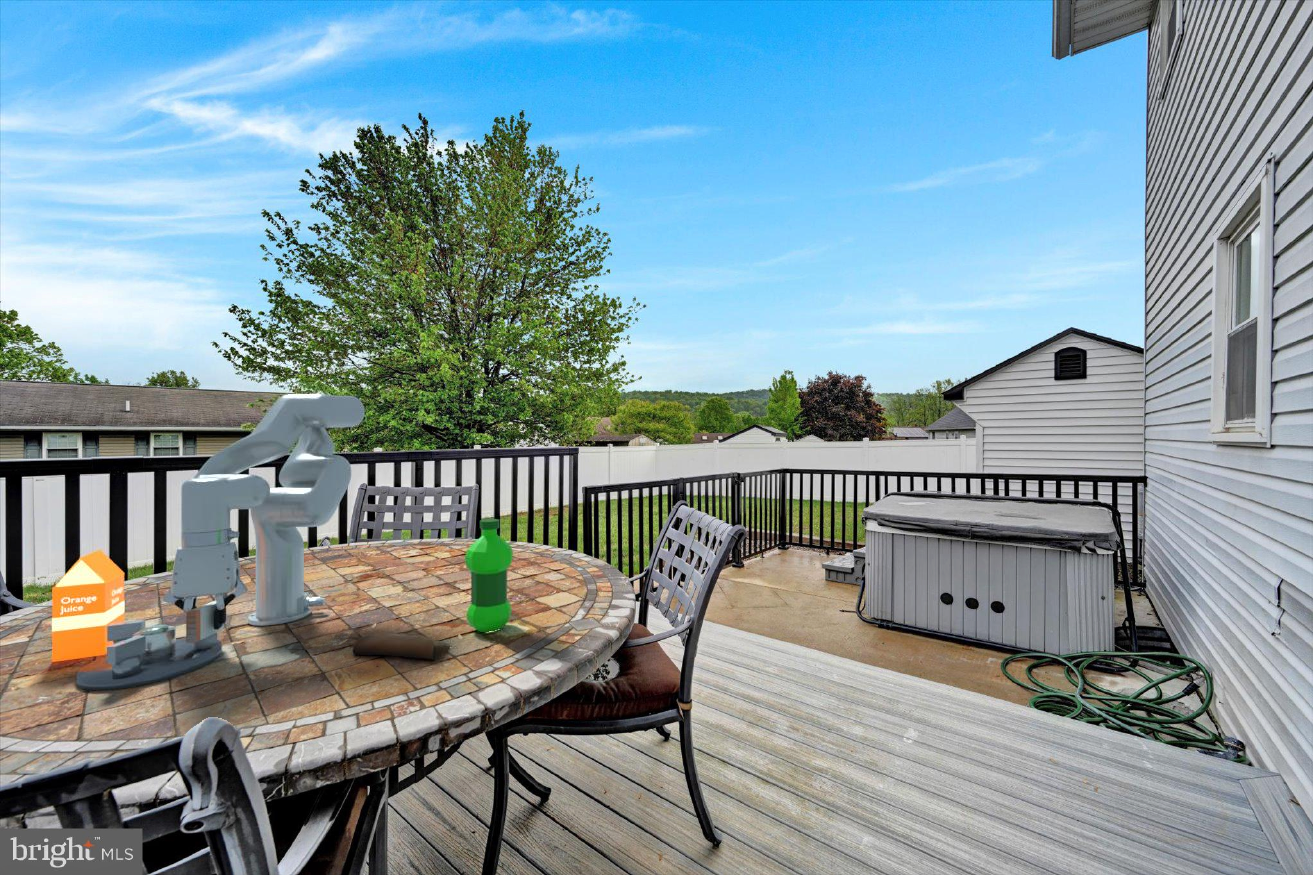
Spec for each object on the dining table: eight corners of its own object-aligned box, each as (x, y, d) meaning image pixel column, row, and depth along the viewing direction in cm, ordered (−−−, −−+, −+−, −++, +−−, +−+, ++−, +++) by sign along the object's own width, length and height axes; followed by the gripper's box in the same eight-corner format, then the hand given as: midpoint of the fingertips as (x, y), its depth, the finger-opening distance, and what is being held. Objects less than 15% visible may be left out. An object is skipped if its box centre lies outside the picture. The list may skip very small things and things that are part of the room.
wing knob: (210, 638, 109) (210, 600, 109) (228, 638, 109) (228, 600, 109) (181, 652, 102) (181, 611, 102) (200, 652, 102) (200, 611, 102)
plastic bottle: (498, 618, 127) (498, 515, 127) (520, 629, 119) (520, 520, 119) (458, 628, 120) (458, 520, 120) (479, 641, 112) (479, 525, 112)
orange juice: (51, 662, 101) (51, 559, 101) (75, 646, 109) (75, 551, 109) (106, 654, 105) (106, 555, 105) (125, 639, 113) (125, 547, 113)
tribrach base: (234, 638, 114) (234, 604, 114) (202, 676, 96) (202, 635, 95) (110, 654, 105) (110, 617, 105) (49, 700, 87) (49, 655, 87)
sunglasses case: (456, 644, 110) (447, 623, 107) (440, 674, 104) (430, 653, 101) (379, 639, 113) (368, 619, 109) (359, 668, 107) (347, 647, 103)
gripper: (260, 532, 113) (261, 617, 113) (161, 538, 106) (161, 629, 106) (251, 538, 106) (251, 628, 106) (144, 546, 99) (144, 642, 99)
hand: (206, 628), depth 106 cm, fingers closed on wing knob, 3 cm apart
